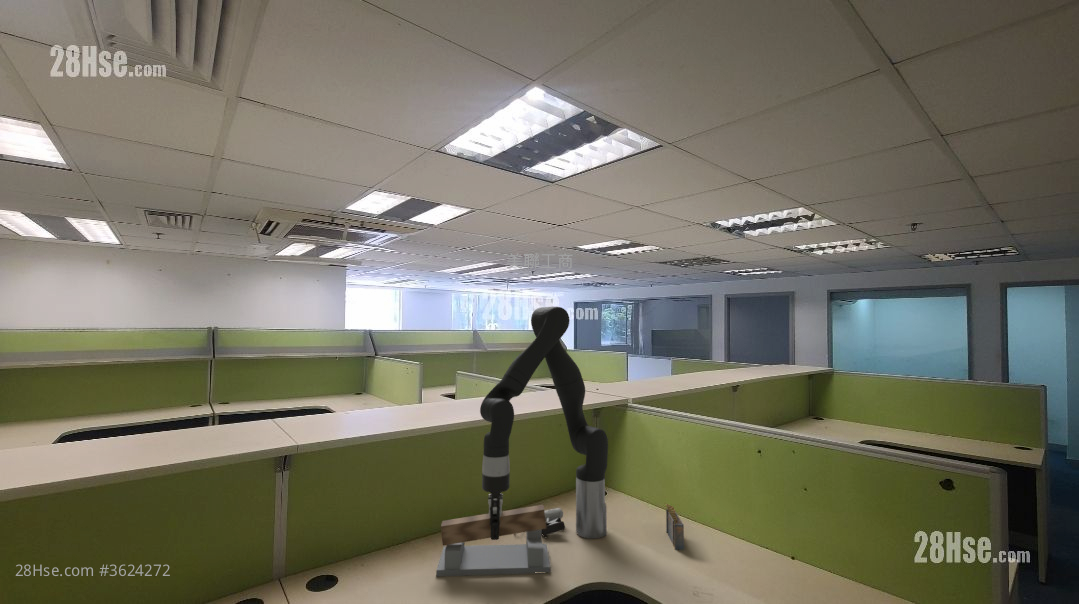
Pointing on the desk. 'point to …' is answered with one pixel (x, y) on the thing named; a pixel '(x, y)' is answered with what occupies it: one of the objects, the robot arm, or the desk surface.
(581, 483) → the robot arm
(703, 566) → the desk surface
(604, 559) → the desk surface
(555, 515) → the clip-on lamp
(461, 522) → the wooden plank
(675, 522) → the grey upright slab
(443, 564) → the notch rack
